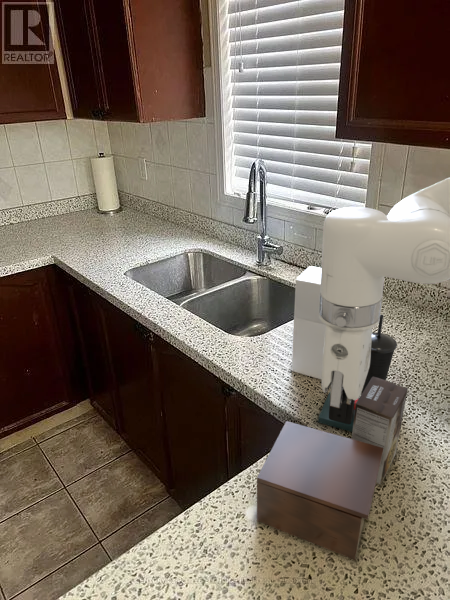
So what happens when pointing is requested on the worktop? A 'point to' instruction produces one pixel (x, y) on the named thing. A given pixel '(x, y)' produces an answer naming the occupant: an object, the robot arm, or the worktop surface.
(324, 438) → the lid
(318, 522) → the chest
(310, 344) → the tall white carton
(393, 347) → the drinking cup
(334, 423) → the red push button base
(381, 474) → the coffee box
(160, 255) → the worktop surface
